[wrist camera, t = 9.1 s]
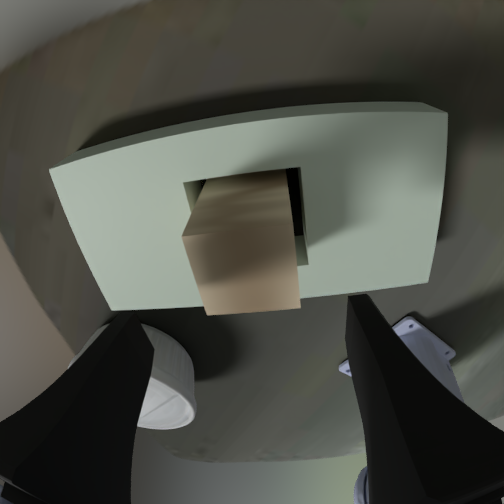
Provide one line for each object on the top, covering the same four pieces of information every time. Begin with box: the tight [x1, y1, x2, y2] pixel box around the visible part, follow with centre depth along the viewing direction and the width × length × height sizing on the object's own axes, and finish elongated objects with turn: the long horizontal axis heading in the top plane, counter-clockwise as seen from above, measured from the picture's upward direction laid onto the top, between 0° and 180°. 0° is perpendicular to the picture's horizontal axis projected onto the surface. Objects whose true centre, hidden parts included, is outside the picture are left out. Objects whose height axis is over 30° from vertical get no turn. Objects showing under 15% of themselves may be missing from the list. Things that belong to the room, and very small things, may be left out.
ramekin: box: [68, 324, 197, 429], centre depth 25 cm, size 11×11×5 cm
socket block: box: [49, 102, 448, 311], centre depth 17 cm, size 20×10×3 cm, turn 99°
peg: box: [181, 169, 301, 315], centre depth 15 cm, size 4×4×7 cm
